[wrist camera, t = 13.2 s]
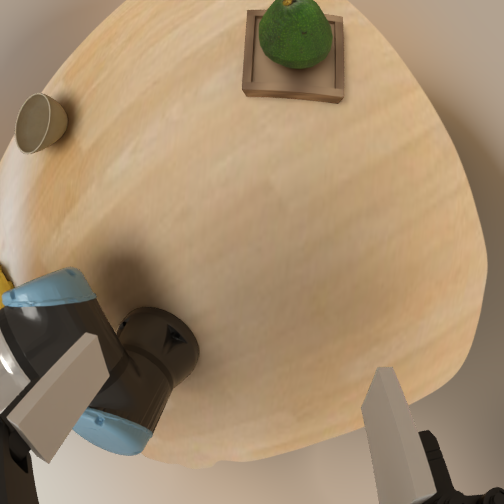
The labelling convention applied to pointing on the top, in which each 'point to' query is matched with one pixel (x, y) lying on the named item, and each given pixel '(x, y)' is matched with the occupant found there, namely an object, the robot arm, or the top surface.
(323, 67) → the base
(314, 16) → the avocado
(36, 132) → the grey bowl
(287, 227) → the top surface
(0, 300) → the teapot
